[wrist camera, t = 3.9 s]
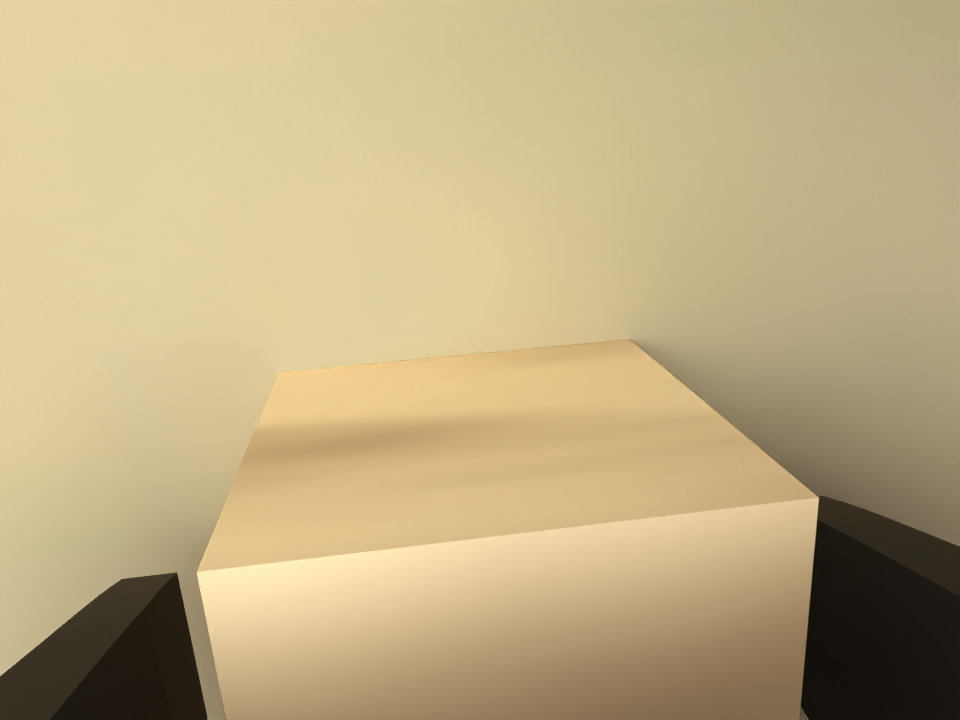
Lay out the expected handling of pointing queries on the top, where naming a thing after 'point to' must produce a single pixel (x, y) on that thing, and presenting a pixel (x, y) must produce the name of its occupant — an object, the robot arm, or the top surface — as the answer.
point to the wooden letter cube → (507, 548)
